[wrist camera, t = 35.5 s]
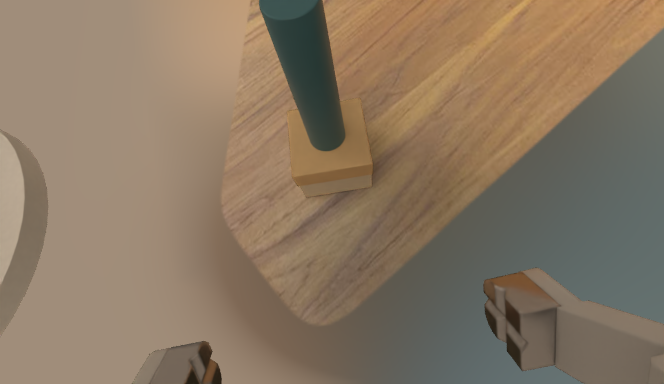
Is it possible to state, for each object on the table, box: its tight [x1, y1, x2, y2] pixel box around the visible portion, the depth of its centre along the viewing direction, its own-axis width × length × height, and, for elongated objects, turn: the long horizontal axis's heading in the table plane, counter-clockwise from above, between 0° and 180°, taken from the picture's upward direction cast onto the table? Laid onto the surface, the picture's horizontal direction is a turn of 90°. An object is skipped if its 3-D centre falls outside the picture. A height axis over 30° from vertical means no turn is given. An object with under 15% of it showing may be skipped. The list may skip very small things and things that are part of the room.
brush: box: [259, 0, 373, 197], centre depth 19 cm, size 5×5×14 cm
